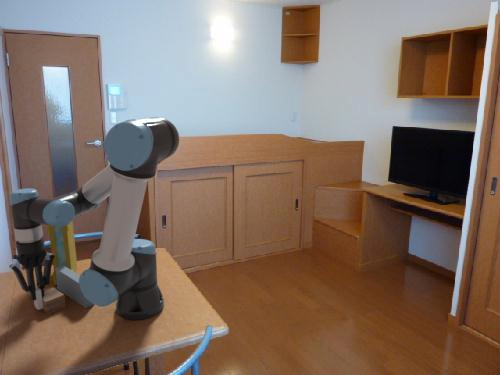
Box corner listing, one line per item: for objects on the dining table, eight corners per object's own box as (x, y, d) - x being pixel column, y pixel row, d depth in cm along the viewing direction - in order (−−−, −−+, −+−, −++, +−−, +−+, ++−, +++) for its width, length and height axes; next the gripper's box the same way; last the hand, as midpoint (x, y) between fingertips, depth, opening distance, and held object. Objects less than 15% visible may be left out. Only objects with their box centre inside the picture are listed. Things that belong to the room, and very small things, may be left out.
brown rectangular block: (65, 307, 133) (64, 294, 132) (47, 314, 128) (45, 301, 127) (54, 299, 138) (52, 287, 137) (36, 306, 133) (34, 293, 132)
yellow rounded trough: (74, 282, 149) (67, 218, 143) (54, 284, 147) (46, 219, 141) (79, 263, 165) (73, 205, 159) (61, 265, 163) (54, 206, 157)
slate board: (94, 304, 134) (92, 282, 132) (85, 308, 132) (83, 286, 130) (65, 285, 147) (63, 265, 145) (57, 288, 144) (55, 268, 142)
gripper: (45, 230, 131) (53, 295, 137) (1, 241, 122) (12, 311, 127) (56, 235, 127) (64, 303, 132) (11, 248, 117) (22, 320, 123)
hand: (39, 307), depth 130 cm, fingers closed
